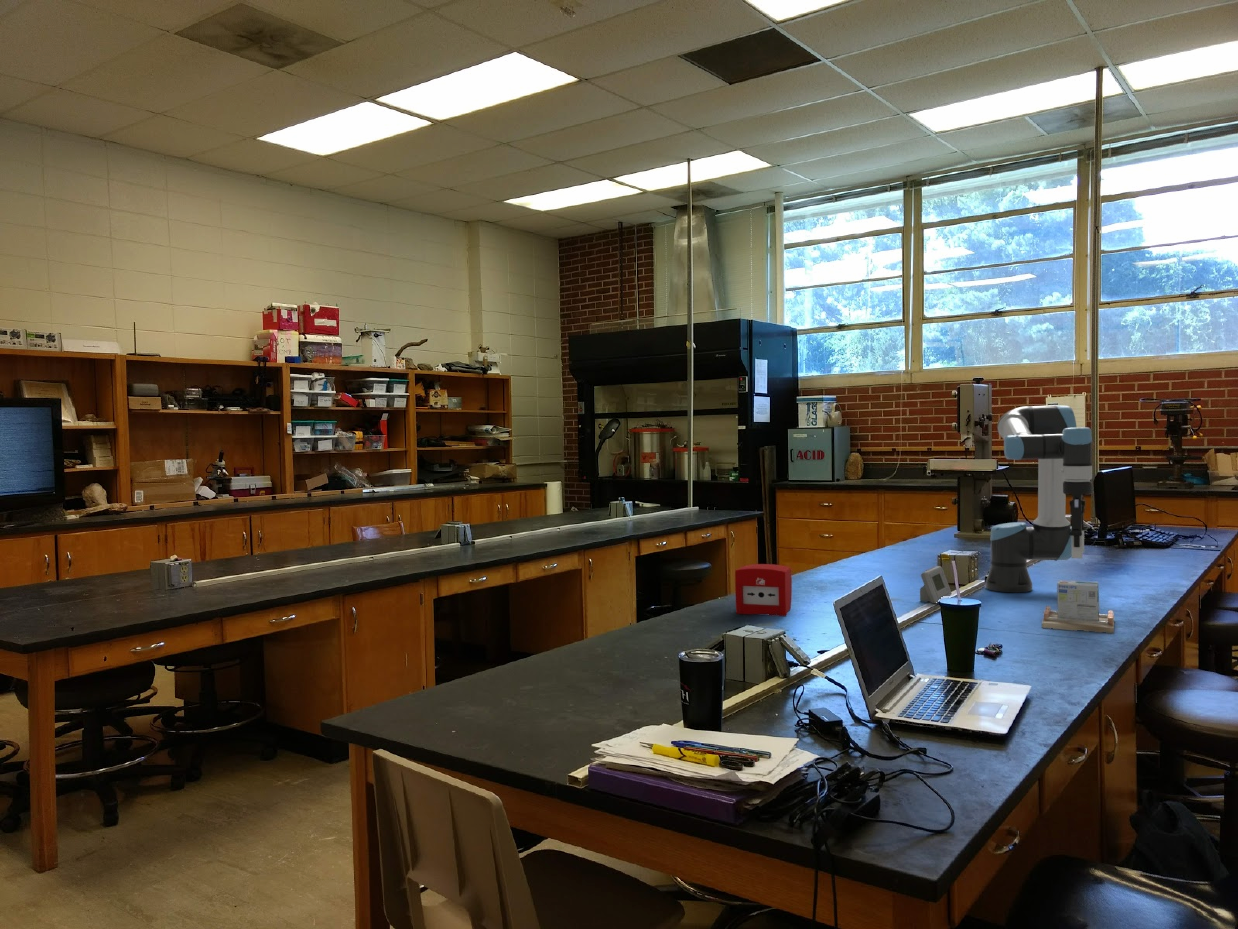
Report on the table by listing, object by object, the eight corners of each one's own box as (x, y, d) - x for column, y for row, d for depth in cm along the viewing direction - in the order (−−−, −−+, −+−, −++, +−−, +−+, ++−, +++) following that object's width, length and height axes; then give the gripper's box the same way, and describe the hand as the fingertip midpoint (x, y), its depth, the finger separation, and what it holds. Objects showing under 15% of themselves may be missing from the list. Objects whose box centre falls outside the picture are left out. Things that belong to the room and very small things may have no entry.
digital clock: (935, 605, 288) (935, 573, 288) (910, 602, 295) (910, 570, 295) (960, 598, 299) (959, 567, 298) (935, 595, 306) (935, 564, 305)
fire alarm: (735, 614, 284) (734, 568, 284) (743, 607, 294) (742, 562, 294) (785, 616, 278) (784, 569, 277) (792, 609, 288) (791, 564, 287)
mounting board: (1046, 615, 269) (1046, 610, 269) (1114, 620, 260) (1114, 615, 260) (1041, 627, 253) (1041, 622, 253) (1113, 633, 244) (1113, 628, 244)
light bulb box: (1099, 618, 257) (1099, 581, 256) (1098, 623, 251) (1098, 585, 250) (1058, 615, 262) (1058, 579, 262) (1056, 619, 256) (1056, 583, 256)
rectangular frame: (1046, 612, 266) (1046, 606, 266) (1113, 617, 257) (1113, 610, 257) (1043, 620, 256) (1043, 613, 256) (1112, 625, 248) (1112, 618, 248)
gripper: (1065, 477, 267) (1065, 549, 268) (1060, 483, 247) (1060, 560, 247) (1093, 478, 263) (1093, 550, 264) (1090, 483, 243) (1091, 562, 244)
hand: (1077, 555), depth 256 cm, fingers open, 11 cm apart
